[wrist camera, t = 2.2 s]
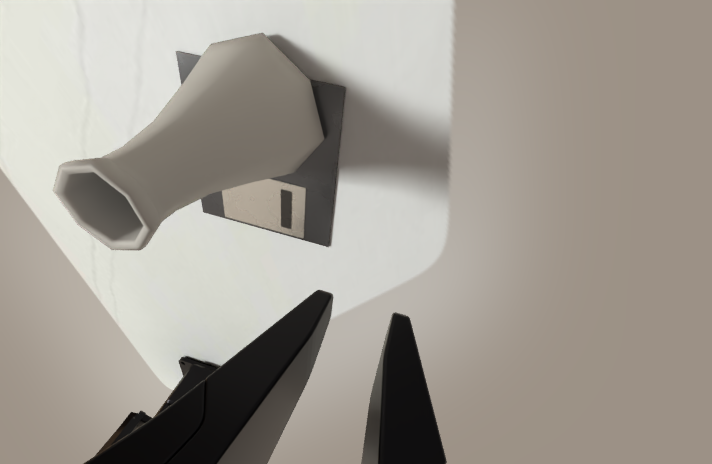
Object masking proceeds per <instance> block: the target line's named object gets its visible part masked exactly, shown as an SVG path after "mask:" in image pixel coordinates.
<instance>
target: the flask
mask: <svg viewBox="0 0 712 464" xmlns="http://www.w3.org/2000/svg"><path fill="white" fill-rule="evenodd" d="M323 140H324V135H323V131H322V127H321V123H320V119H319V115H318V111H317V107H316V103H315V99H314V95H313V90H312V86H311V82H310V80H309V79H308V78H307V77H306V76H305V75H304V74H303V73H302V72H301V71H300V70H299V69H298V68H297V67H296V66H295V65H294V64H293V63H292V62H291V61H290V60H289V59H288V58H287V57H286V56H285V55H284V54H283V53H282V52H281V51H280V50H279V49H278V48H277V47H276V46H275V45H274V44H273V43H272V42H271V41H270V40H269V39H268V38H267V37H266V36H265V35H264V34H263V33H259V34H254V35H250V36H245V37H240V38H236V39H231V40H227V41H222V42H217V43H213V44H211V45H210V46H209V47H208V48H207V50H206V51H205V52H204V54H203V55H202V56H201V58H200V59H199V61H198V62H197V64H196V65H195V67H194V68H193V70H192V71H191V73H190V74H189V75H188V77H187V78H186V80H185V81H184V83H183V84H182V85H181V87H180V88H179V89H178V91H177V92H176V93H175V94H174V96H173V97H172V98H171V99H170V101H169V102H168V103H167V105H166V106H165V107H164V108H163V110H162V111H161V112H160V114H159V115H158V116H157V117H156V119H155V120H154V121H153V122H152V123H151V124H150V125H148V126H147V127H146V128H145V129H143V130H142V131H141V132H140V133H139V134H137V135H136V136H135V137H134V138H132V139H131V140H130V141H129V142H127V143H126V144H125V145H124V146H123V147H121V148H119V149H117V150H115V151H113V152H111V153H109V154H107V155H105V156H103V157H102V158H94V159H84V160H74V161H70V162H65V163H64V164H62V165H60V166H59V169H58V173H57V177H56V180H55V184H54V188H53V192H54V193H55V194H56V196H57V197H58V198H59V200H60V201H61V203H62V204H63V205H64V207H65V208H66V209H67V211H68V212H69V213H70V215H71V216H72V218H73V219H74V220H75V222H76V223H77V224H78V225H79V226H80V227H81V228H83V229H84V230H85V231H87V232H88V233H90V234H91V235H92V236H94V237H95V238H96V239H98V240H99V241H101V242H102V243H103V244H105V245H106V246H107V247H109V248H110V249H112V250H141V249H143V248H144V247H145V246H146V245H147V244H148V242H149V241H150V240H151V238H152V236H153V235H154V233H155V232H156V230H157V228H158V227H159V225H160V224H161V222H162V221H163V220H165V219H166V218H167V217H168V216H170V215H171V214H172V213H174V212H175V211H176V210H179V209H181V208H183V207H185V206H187V205H189V204H191V203H193V202H195V201H197V200H199V199H201V198H203V197H205V196H207V195H209V194H212V193H215V192H219V191H223V190H226V189H230V188H233V187H237V186H241V185H244V184H248V183H252V182H256V181H260V180H265V179H269V178H274V177H278V176H283V175H287V174H290V173H294V172H295V171H296V170H297V169H298V168H299V167H300V166H301V164H302V163H303V162H304V161H305V160H306V159H307V158H308V157H309V156H310V155H311V154H312V152H313V151H314V150H315V149H316V148H317V147H318V146H319V145H320V144H321V143H322V141H323Z"/></svg>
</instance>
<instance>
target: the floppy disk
mask: <svg viewBox="0 0 712 464" xmlns="http://www.w3.org/2000/svg"><path fill="white" fill-rule="evenodd" d="M176 55H177V61H178V67H179V72H180V78H181V84H183V83H184V81H185V80H186V78H187V77H188V75H189V74H190V73H191V71H192V70H193V68H194V67H195V65H196V64H197V62H198V61H199V59H200V58H201V56H197V55H192V54H188V53H183V52H178V51H176ZM310 82H311V86H312V90H313V95H314V99H315V103H316V107H317V111H318V115H319V119H320V123H321V127H322V131H323V135H324V140H323V141H322V143H321V144H320V145H319V146H318V147H317V148H316V149H315V150H314V151H313V152H312V154H311V155H310V156H309V157H308V158H307V159H306V160H305V161H304V162H303V163H302V164H301V166H300V167H299V168H298V169H297V170H296V171H295V172H294V173H290V174H287V175H283V176H278V177H274V178H269V179H265V180H260V181H256V182H252V183H248V184H244V185H241V186H237V187H233V188H230V189H226V190H223V191H219V192H215V193H212V194H209V195H207V196H205V197H203V198H201V201H202V207H203V212H205V213H208V214H212V215H216V216H219V217H223V218H226V219H230V220H233V221H237V222H241V223H244V224H248V225H251V226H255V227H258V228H262V229H266V230H269V231H273V232H276V233H280V234H284V235H287V236H291V237H294V238H298V239H301V240H305V241H309V242H312V243H316V244H319V245H323V246H326V247H329V239H330V230H331V220H332V210H333V201H334V191H335V181H336V172H337V162H338V153H339V143H340V133H341V124H342V114H343V104H344V95H345V87H342V86H337V85H333V84H328V83H323V82H319V81H314V80H310Z"/></svg>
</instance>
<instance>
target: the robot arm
mask: <svg viewBox="0 0 712 464" xmlns="http://www.w3.org/2000/svg"><path fill="white" fill-rule="evenodd" d="M332 303H333V294H331V293H329V292H326V291H322V290H317V291H316V292H314V293H313V294H312V295H310V296H309V297H308V298H307V299H305V300H304V301H303V302H302V303H300V304H299V305H298V306H297V307H295V308H294V309H293V310H291V311H290V312H289V313H288V314H286V315H285V316H284V317H283V318H281V319H280V320H279V321H278V322H276V323H275V324H274V325H273V326H271V327H270V328H269V329H267V330H266V331H265V332H264V333H262V334H261V335H260V336H259V337H257V338H256V339H255V340H254V341H252V342H251V343H250V344H249V345H247V346H246V347H245V348H243V349H242V350H241V351H240V352H238V353H237V354H236V355H235V356H233V357H232V358H231V359H230V360H228V361H227V362H226V363H225V364H223V365H222V366H221V367H219V368H218V369H217V368H214V367H211V366H208V365H205V364H203V363H200V362H197V361H194V360H191V359H188V358H185V357H181V359H180V360H179V364H180V367H181V370H182V373H183V378H182V379H181V381H180V382H179V383H178V385H177V386H176V388H175V389H174V390H173V392H172V393H171V395H170V396H169V397H168V399H167V400H166V401H165V403H164V404H163V406H162V407H161V408H160V410H159V411H158V412H157V414H156V415H155V416H154V417H153V418H151V417H149V416H148V415H146V413H145V412H143V411H140V412H139V414H138V413H133V412H131V413H130V414H129V415H128V417H127V418H126V419H125V421H124V422H123V423H122V424H121V426H120V427H119V428H118V429H117V431H116V432H115V433H114V434H113V435H112V436H111V438H110V439H109V440H108V441H107V442H106V444H105V445H104V446H103V447H102V448H101V450H100V451H99V452H98V453H97V454H96V455H95V457H93V458H91V459H90V460H89V461H87V462H85V463H84V464H267V463H268V461H269V459H270V457H271V455H272V453H273V451H274V449H275V447H276V445H277V443H278V441H279V439H280V437H281V435H282V432H283V430H284V428H285V426H286V424H287V422H288V420H289V418H290V416H291V414H292V412H293V410H294V408H295V406H296V404H297V402H298V400H299V398H300V396H301V394H302V392H303V390H304V388H305V385H306V383H307V381H308V379H309V377H310V374H311V372H312V369H313V366H314V364H315V361H316V357H317V355H318V352H319V349H320V347H321V344H322V341H323V338H324V335H325V332H326V329H327V326H328V324H329V321H330V317H331V311H332ZM446 463H447V461H446V457H445V453H444V449H443V446H442V442H441V438H440V434H439V430H438V426H437V422H436V418H435V415H434V410H433V407H432V403H431V399H430V395H429V391H428V388H427V383H426V379H425V376H424V372H423V368H422V364H421V360H420V356H419V352H418V348H417V344H416V341H415V337H414V333H413V329H412V325H411V321H410V318H409V317H408V316H406V315H403V314H399V313H396V312H395V313H393V314H392V317H391V320H390V324H389V327H388V330H387V334H386V338H385V341H384V345H383V349H382V353H381V357H380V361H379V365H378V369H377V373H376V376H375V381H374V384H373V389H372V393H371V397H370V404H369V411H368V418H367V426H366V433H365V440H364V448H363V456H362V463H361V464H446Z"/></svg>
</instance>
